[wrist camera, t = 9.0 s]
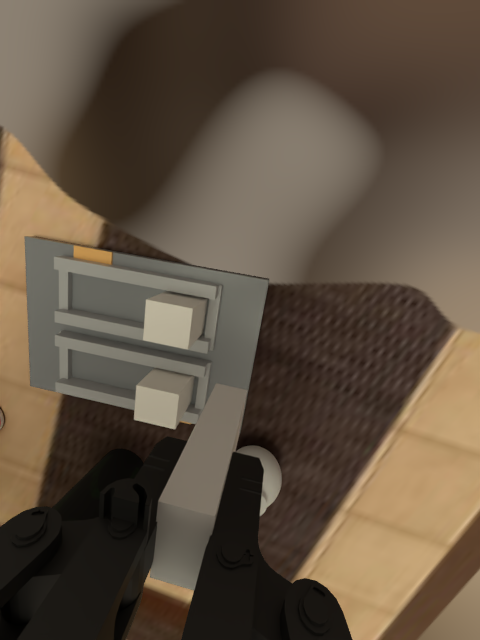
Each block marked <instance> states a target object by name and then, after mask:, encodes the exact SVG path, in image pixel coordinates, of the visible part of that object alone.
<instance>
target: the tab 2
mask: <svg viewBox="0 0 480 640" xmlns="http://www.w3.org/2000/svg"><path fill="white" fill-rule="evenodd" d="M194 377H195V376H192V375H188V374H183V373H178V372H174V371H169V370H164V369H160V368H154V369H153V370H152V371H151V372H150V373H149V374H148V375H147V376H145V377H144V378H143V379H142V380H141V381H140V382H139V383H138V384H137V385H136V397H135V411H134V420H137V421H141V422H146V423H150V424H154V425H158V426H163V427H167V428H171V429H176V427H177V425H178V424H179V422H180V420H181V418H182V417H183V415H184V413H185V411H186V410H187V408H188V406H189V405H190V403H191V400H192V393H193V385H194Z"/></svg>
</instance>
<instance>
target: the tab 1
mask: <svg viewBox="0 0 480 640" xmlns="http://www.w3.org/2000/svg"><path fill="white" fill-rule="evenodd" d="M207 301H208V298H204V297H198V296H193V295H188V294H183V293H177V292H172V291H166V292H163V293H161V294H158V295H156V296H153V297H151V298H148V299H146V306H145V320H144V333H143V340H144V341H149V342H154V343H159V344H163V345H168V346H173V347H178V348H183V349H187V350H188V349H189V348H190V347H191V346H192V344H193V343H194V342H195V341H196V340H197V339H198V338H199V337H200V336H201V334H202V333H203V331H204V324H205V316H206V309H207Z"/></svg>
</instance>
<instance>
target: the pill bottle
mask: <svg viewBox="0 0 480 640" xmlns="http://www.w3.org/2000/svg"><path fill="white" fill-rule="evenodd" d="M3 423H4V417H3V413H2V411H1V409H0V429H1V428H2V426H3Z"/></svg>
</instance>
